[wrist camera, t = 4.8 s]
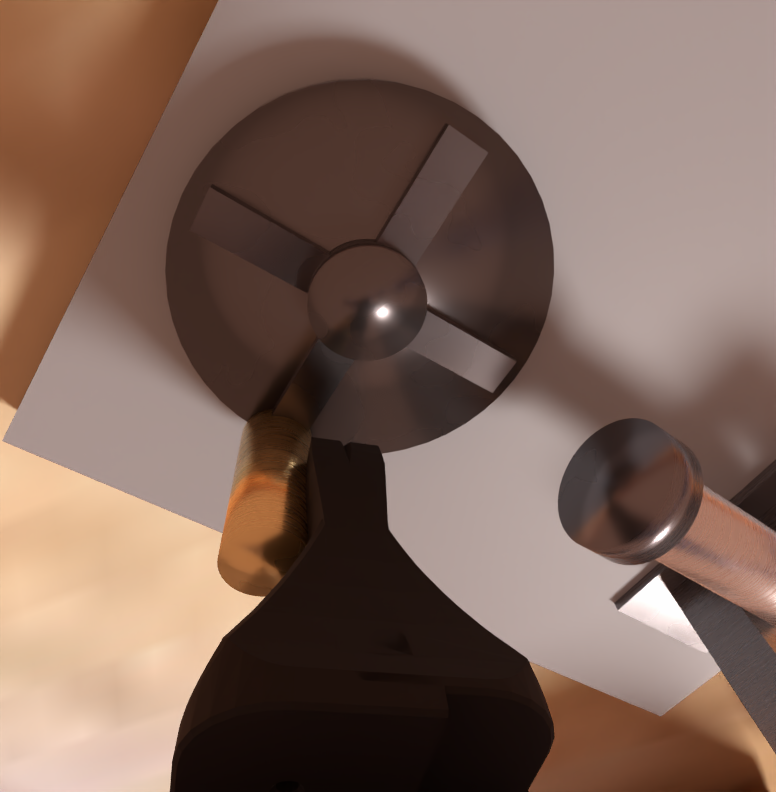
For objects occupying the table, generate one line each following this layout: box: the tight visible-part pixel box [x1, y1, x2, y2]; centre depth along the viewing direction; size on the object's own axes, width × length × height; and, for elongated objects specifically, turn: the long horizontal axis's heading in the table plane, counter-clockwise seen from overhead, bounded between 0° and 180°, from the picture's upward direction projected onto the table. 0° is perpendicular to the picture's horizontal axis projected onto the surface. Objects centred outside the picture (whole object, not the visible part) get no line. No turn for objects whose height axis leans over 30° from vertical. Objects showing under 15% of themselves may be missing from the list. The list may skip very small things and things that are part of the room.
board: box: [2, 0, 776, 716], centre depth 16 cm, size 18×24×1 cm
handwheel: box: [165, 78, 554, 596], centre depth 11 cm, size 8×9×5 cm
